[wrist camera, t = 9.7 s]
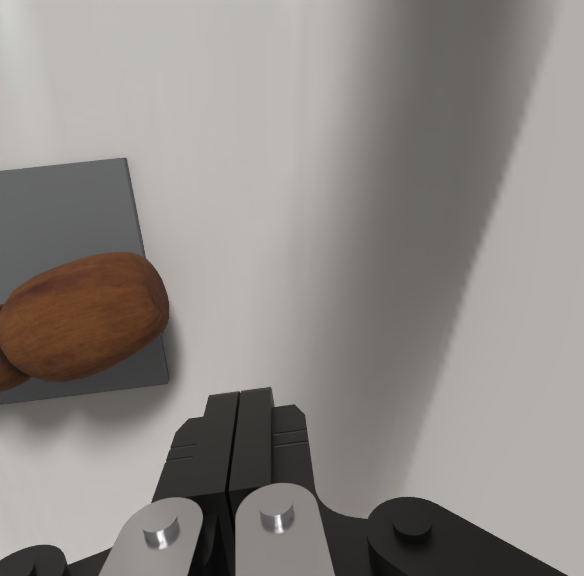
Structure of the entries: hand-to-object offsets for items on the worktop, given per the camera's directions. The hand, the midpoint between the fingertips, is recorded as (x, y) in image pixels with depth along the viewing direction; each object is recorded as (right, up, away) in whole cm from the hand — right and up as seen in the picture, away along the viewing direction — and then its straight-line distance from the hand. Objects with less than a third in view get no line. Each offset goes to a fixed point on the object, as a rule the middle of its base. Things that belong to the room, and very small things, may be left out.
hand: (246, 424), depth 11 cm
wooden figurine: (-6, +3, +13) cm, 15 cm away
